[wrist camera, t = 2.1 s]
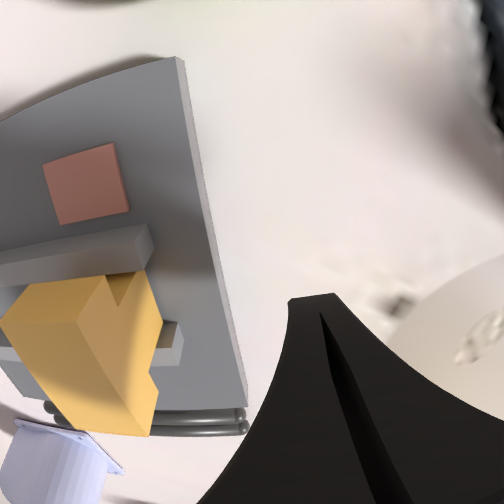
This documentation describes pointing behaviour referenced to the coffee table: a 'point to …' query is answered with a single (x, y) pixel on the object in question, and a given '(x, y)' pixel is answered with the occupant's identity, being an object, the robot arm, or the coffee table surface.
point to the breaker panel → (125, 232)
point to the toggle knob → (91, 348)
